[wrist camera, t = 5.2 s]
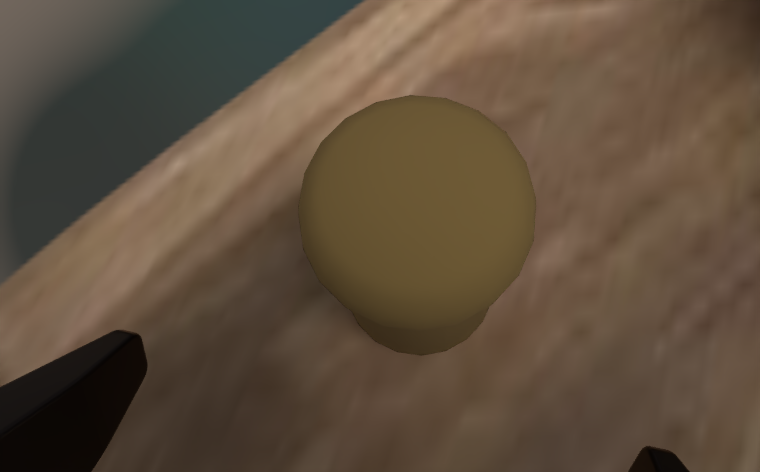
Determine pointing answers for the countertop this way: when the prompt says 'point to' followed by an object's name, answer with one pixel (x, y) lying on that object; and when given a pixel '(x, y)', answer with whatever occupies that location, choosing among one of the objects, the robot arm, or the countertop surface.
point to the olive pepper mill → (417, 219)
